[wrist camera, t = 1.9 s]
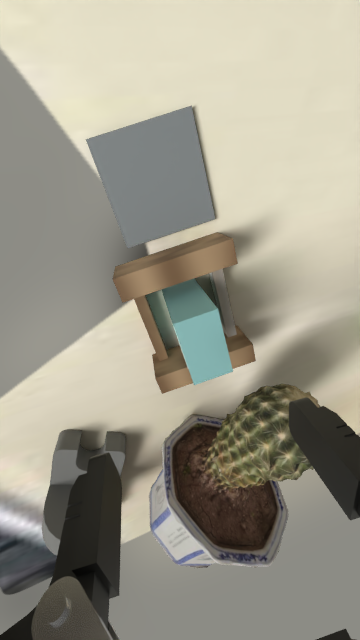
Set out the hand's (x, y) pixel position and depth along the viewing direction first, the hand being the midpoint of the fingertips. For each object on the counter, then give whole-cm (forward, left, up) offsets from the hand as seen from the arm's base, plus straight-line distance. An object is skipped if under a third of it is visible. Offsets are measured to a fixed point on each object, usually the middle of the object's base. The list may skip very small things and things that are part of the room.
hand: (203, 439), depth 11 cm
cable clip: (+21, +26, -22) cm, 40 cm away
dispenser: (-2, +4, -22) cm, 22 cm away
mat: (-3, -10, -22) cm, 24 cm away
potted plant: (-1, +24, -22) cm, 32 cm away
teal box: (-2, +4, -22) cm, 22 cm away
